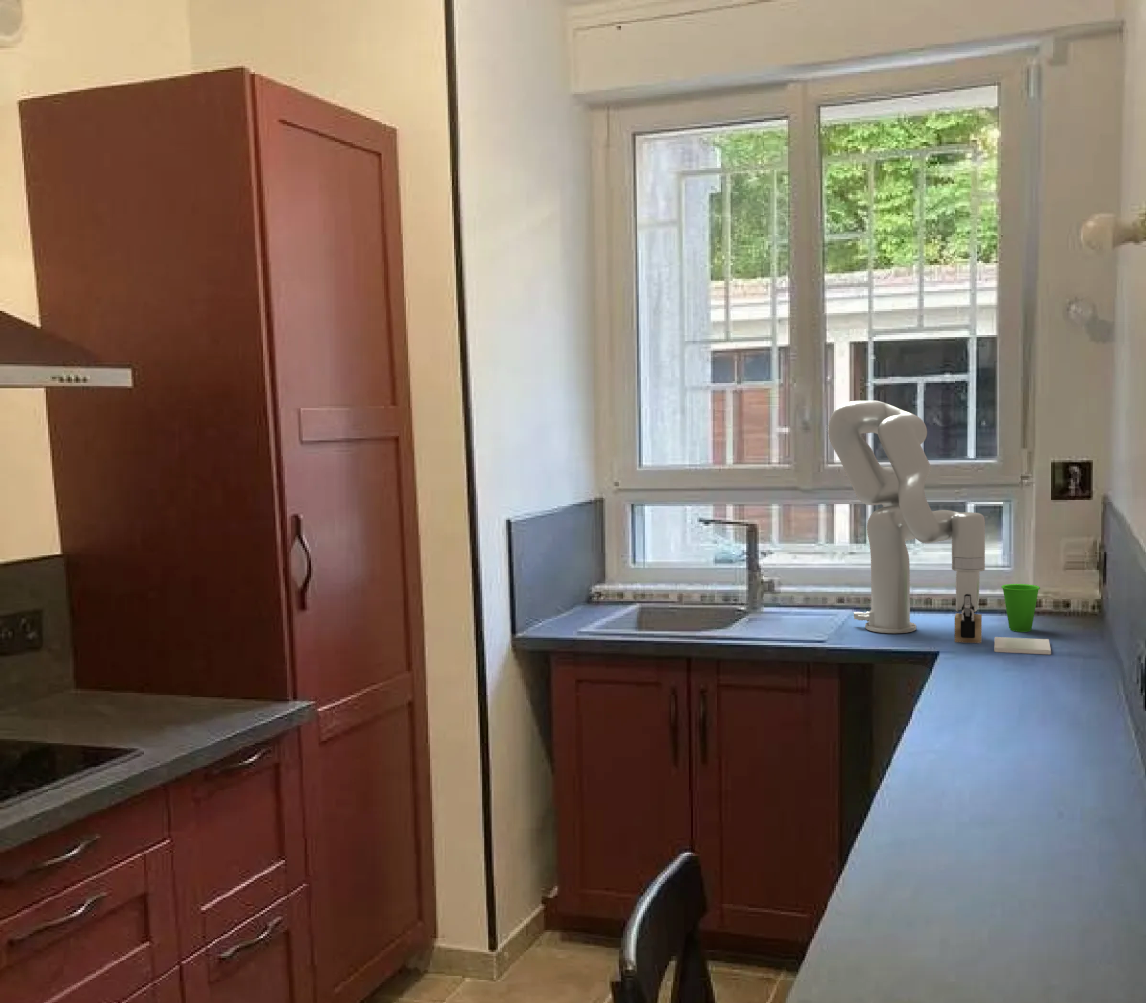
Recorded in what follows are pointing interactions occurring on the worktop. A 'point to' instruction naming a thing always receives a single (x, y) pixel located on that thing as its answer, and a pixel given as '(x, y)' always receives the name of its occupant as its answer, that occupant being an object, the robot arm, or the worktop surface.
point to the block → (977, 629)
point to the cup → (1020, 605)
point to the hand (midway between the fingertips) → (968, 633)
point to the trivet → (1022, 645)
